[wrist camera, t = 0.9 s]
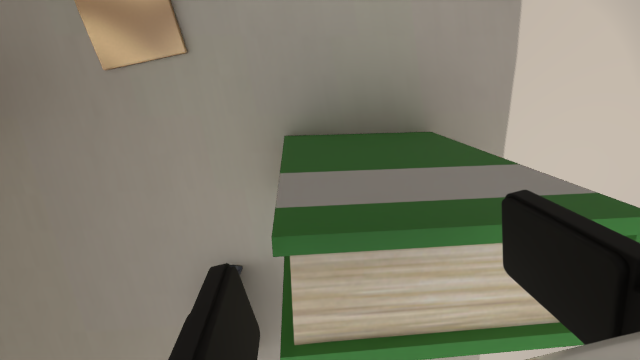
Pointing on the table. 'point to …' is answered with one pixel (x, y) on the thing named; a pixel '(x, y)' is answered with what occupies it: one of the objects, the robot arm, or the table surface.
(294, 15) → the table surface
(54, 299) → the table surface
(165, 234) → the table surface
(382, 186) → the hardback book
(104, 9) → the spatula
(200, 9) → the table surface
